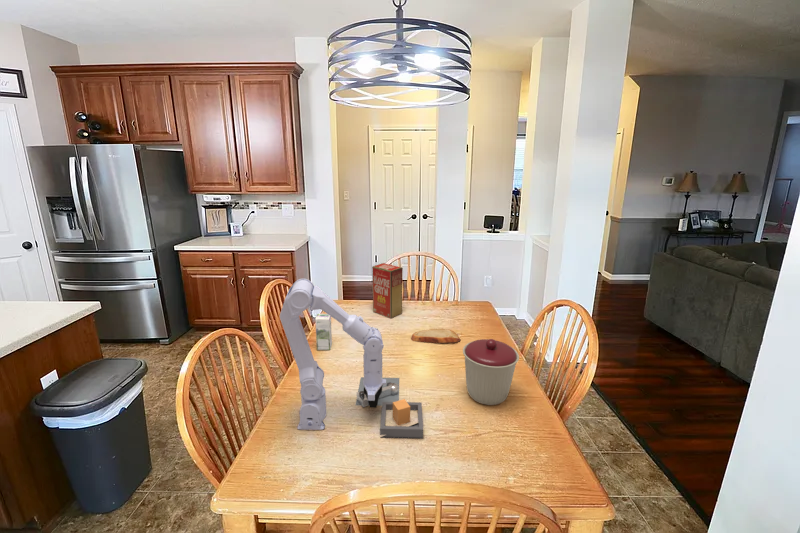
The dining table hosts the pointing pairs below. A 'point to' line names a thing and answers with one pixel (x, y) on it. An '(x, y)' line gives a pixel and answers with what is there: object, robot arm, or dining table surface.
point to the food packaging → (387, 290)
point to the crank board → (388, 381)
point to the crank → (386, 391)
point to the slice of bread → (436, 336)
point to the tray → (402, 431)
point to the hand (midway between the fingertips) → (373, 406)
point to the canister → (489, 370)
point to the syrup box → (323, 332)
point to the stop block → (401, 412)
